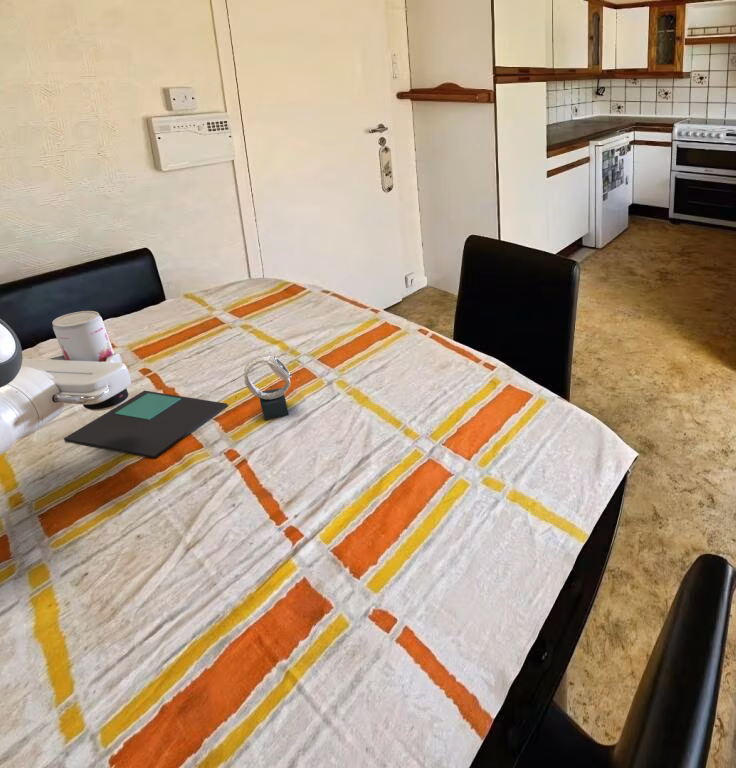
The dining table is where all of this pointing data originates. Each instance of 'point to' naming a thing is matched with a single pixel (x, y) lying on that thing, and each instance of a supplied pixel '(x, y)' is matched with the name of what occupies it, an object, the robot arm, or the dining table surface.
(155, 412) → the corner pad
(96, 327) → the beverage can
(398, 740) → the dining table surface
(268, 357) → the watch
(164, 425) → the place mat
